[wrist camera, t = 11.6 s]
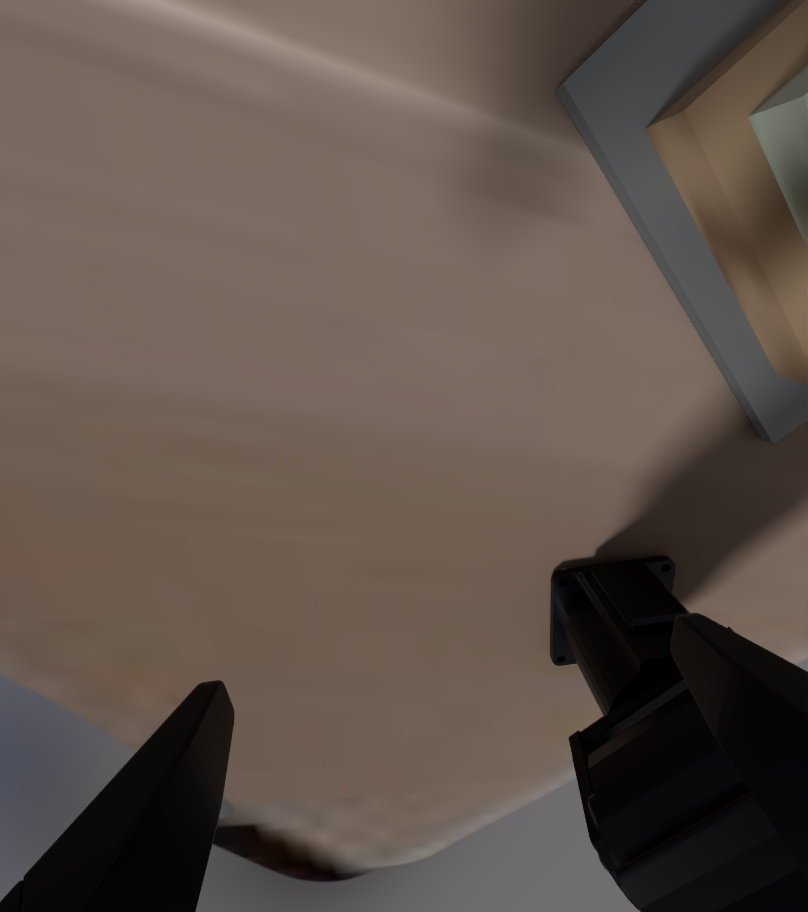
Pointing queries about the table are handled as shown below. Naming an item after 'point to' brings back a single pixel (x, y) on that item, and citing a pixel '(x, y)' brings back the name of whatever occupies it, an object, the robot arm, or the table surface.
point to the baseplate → (652, 189)
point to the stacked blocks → (752, 177)
